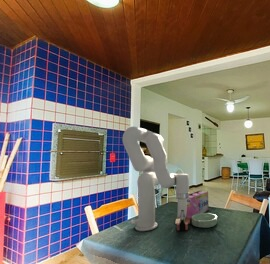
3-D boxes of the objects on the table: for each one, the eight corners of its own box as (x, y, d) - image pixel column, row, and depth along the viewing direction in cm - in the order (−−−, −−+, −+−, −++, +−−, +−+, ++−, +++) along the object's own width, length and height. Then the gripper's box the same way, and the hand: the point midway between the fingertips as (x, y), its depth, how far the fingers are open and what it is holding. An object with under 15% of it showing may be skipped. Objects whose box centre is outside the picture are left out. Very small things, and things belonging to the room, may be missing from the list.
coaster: (175, 224, 120) (175, 223, 120) (176, 219, 129) (175, 218, 129) (190, 223, 121) (190, 223, 121) (189, 218, 130) (189, 218, 130)
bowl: (192, 228, 113) (192, 221, 113) (191, 219, 128) (191, 213, 128) (218, 227, 114) (218, 220, 114) (214, 218, 129) (214, 212, 129)
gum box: (200, 208, 153) (200, 190, 155) (209, 209, 149) (209, 191, 150) (181, 217, 133) (181, 196, 134) (191, 219, 129) (191, 197, 130)
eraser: (177, 230, 111) (177, 224, 111) (177, 228, 114) (177, 222, 114) (187, 229, 111) (187, 224, 112) (187, 227, 115) (187, 222, 115)
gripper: (176, 192, 122) (176, 223, 121) (175, 199, 106) (175, 235, 104) (188, 192, 123) (188, 223, 121) (189, 198, 106) (189, 234, 105)
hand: (182, 228), depth 113 cm, fingers open, 4 cm apart
